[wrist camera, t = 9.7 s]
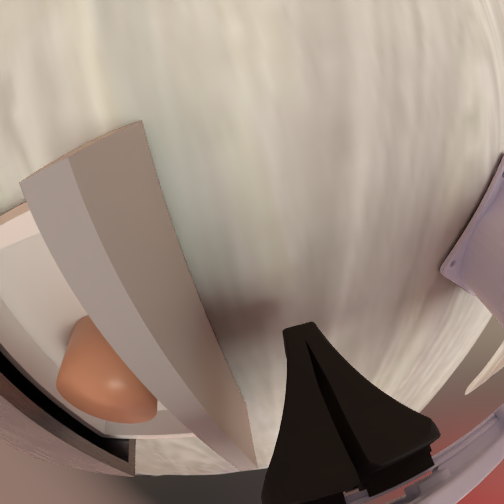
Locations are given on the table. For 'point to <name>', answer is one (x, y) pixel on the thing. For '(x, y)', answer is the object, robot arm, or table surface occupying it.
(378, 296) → the table surface
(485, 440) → the robot arm
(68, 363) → the orange rounded part
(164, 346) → the tray
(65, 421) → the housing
